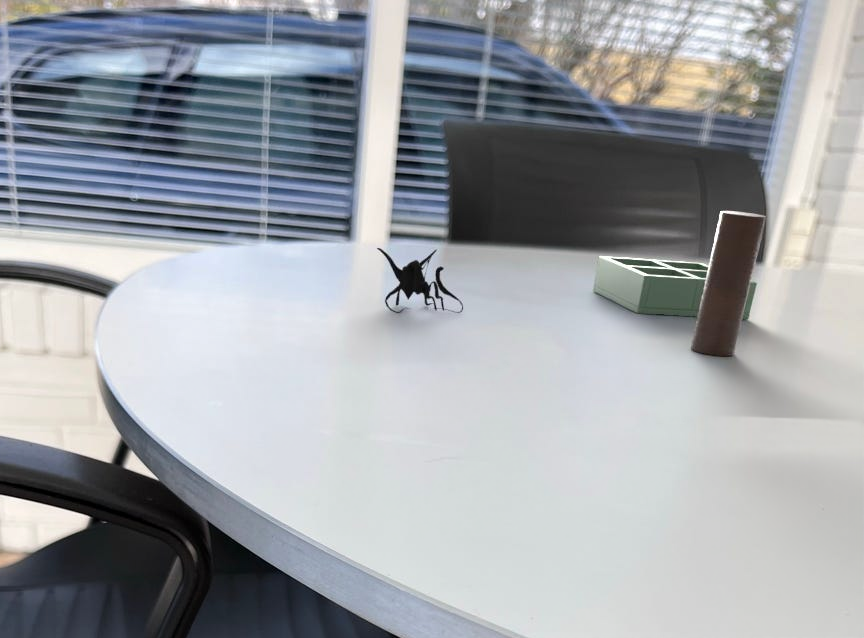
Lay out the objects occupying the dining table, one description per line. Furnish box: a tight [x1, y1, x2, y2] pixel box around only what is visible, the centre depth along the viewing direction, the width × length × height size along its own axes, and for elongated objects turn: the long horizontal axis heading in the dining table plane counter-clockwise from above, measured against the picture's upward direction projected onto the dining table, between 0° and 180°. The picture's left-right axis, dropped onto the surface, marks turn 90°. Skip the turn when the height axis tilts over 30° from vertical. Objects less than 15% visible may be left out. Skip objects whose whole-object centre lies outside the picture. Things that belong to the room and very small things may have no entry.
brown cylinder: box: [690, 210, 767, 357], centre depth 88 cm, size 4×4×11 cm
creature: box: [376, 247, 464, 314], centre depth 95 cm, size 8×5×8 cm
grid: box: [592, 255, 758, 321], centre depth 110 cm, size 12×12×4 cm
